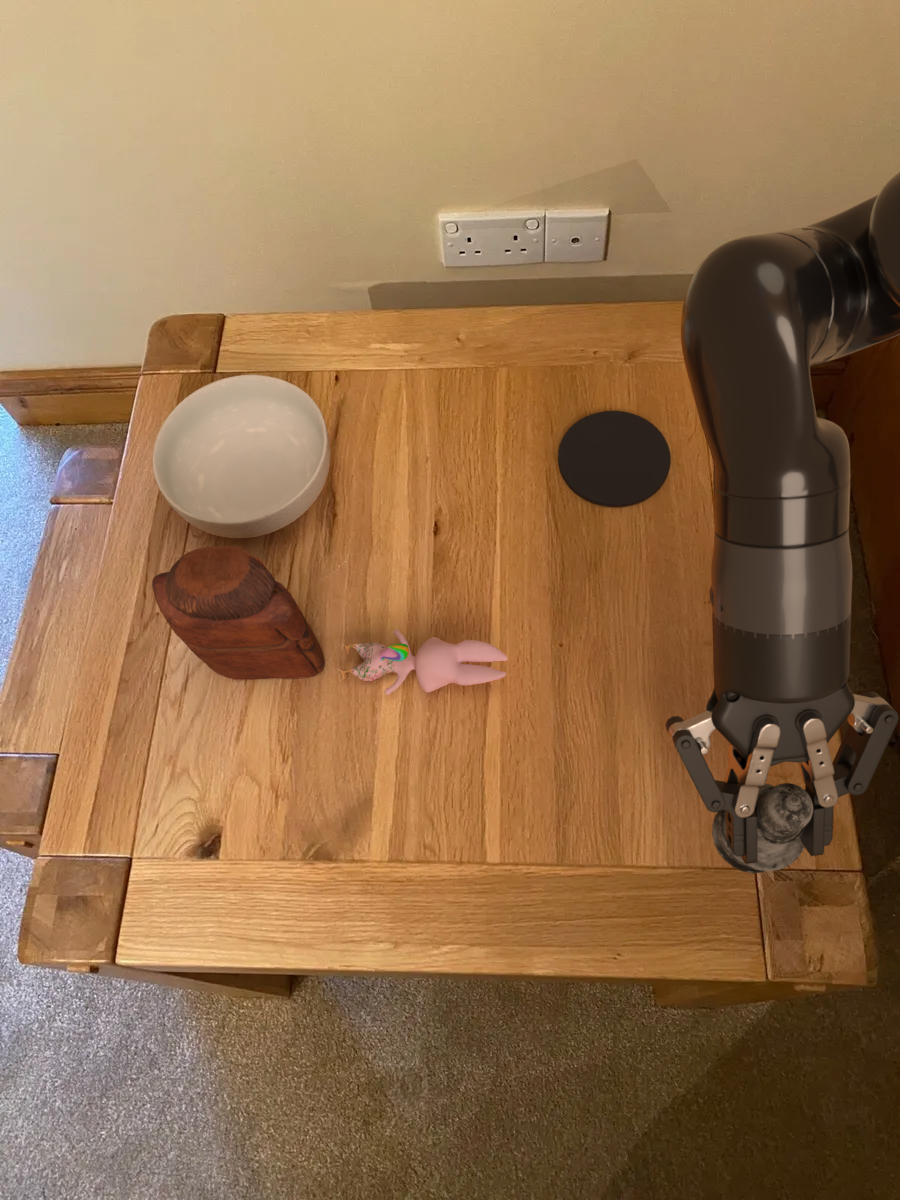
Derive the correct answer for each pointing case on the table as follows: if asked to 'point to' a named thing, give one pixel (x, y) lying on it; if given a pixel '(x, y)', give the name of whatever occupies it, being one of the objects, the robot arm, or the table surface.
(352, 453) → the table surface
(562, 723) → the table surface
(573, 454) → the coaster
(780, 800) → the salt shaker
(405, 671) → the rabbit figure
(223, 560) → the wooden figurine
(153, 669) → the table surface
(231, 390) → the cereal bowl
